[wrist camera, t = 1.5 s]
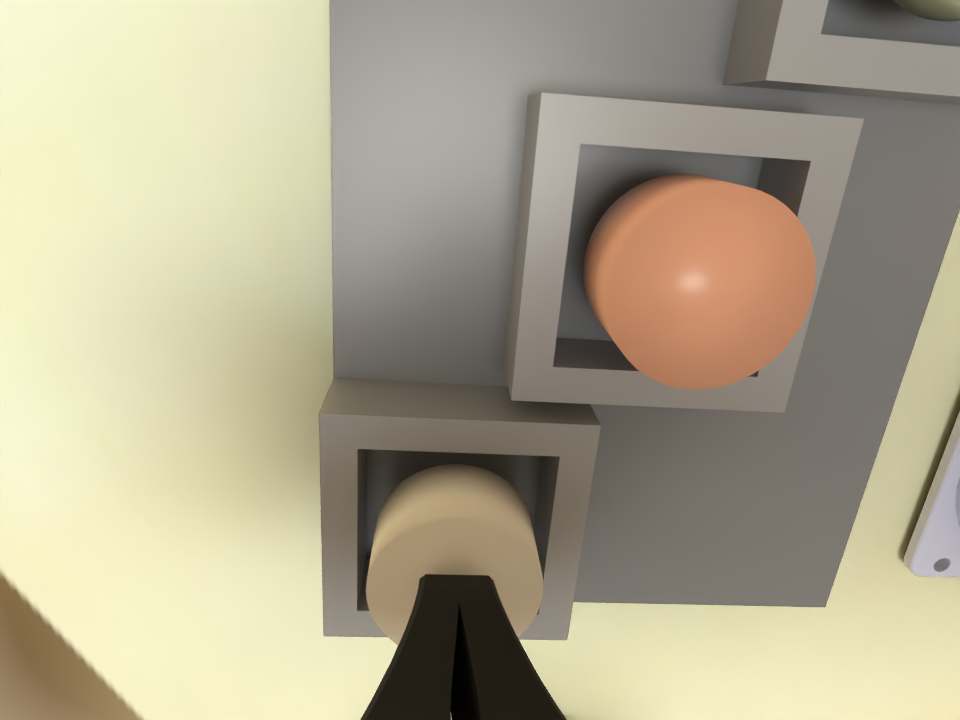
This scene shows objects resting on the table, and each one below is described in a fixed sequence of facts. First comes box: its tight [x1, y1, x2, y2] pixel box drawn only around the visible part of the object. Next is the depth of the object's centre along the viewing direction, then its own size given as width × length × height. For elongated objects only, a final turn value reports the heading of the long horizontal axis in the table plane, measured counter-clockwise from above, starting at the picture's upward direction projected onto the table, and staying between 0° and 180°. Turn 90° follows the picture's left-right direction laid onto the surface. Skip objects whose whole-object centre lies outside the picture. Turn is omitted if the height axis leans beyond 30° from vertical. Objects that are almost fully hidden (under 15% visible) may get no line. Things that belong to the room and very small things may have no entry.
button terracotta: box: [583, 174, 816, 389], centre depth 12 cm, size 4×4×2 cm
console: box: [319, 0, 960, 640], centre depth 14 cm, size 14×20×4 cm
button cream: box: [366, 464, 543, 645], centre depth 14 cm, size 4×4×2 cm
